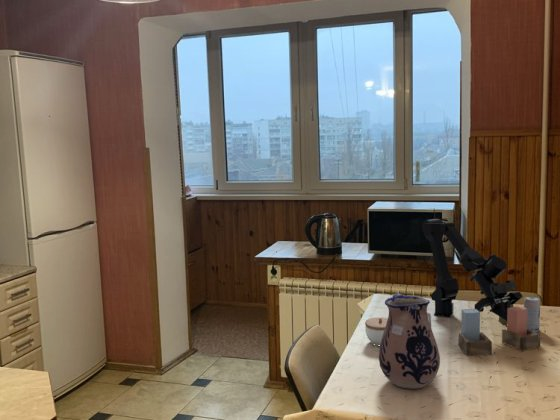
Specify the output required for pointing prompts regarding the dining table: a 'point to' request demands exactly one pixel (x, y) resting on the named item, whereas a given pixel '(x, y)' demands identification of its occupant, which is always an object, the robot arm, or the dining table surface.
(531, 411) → the dining table surface
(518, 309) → the salmon pink block
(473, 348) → the grey brown open box
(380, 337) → the lidded jar
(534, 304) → the energy drink
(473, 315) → the blue-grey rectangular block
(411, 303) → the ceramic pitcher
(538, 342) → the grey-brown wooden tray
